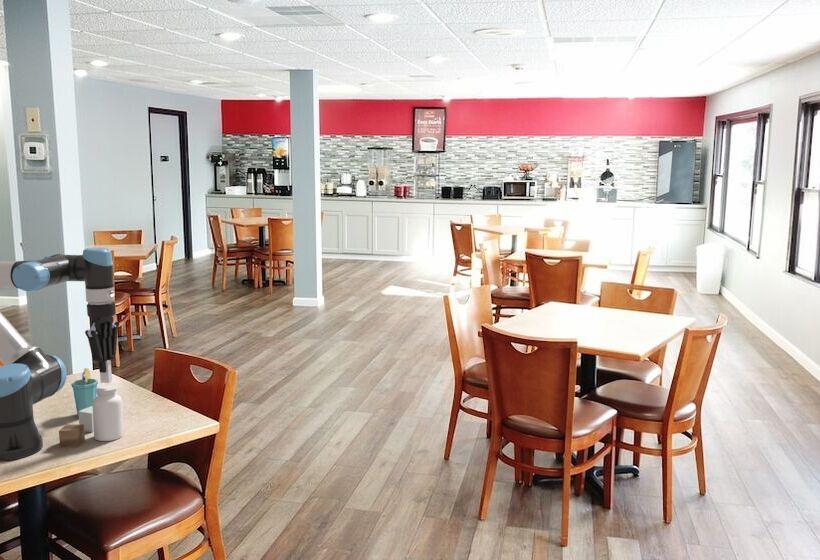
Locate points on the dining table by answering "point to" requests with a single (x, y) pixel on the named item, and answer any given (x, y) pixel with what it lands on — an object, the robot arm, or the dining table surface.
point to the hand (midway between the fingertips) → (106, 382)
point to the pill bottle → (107, 414)
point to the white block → (87, 419)
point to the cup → (84, 391)
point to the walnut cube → (71, 435)
